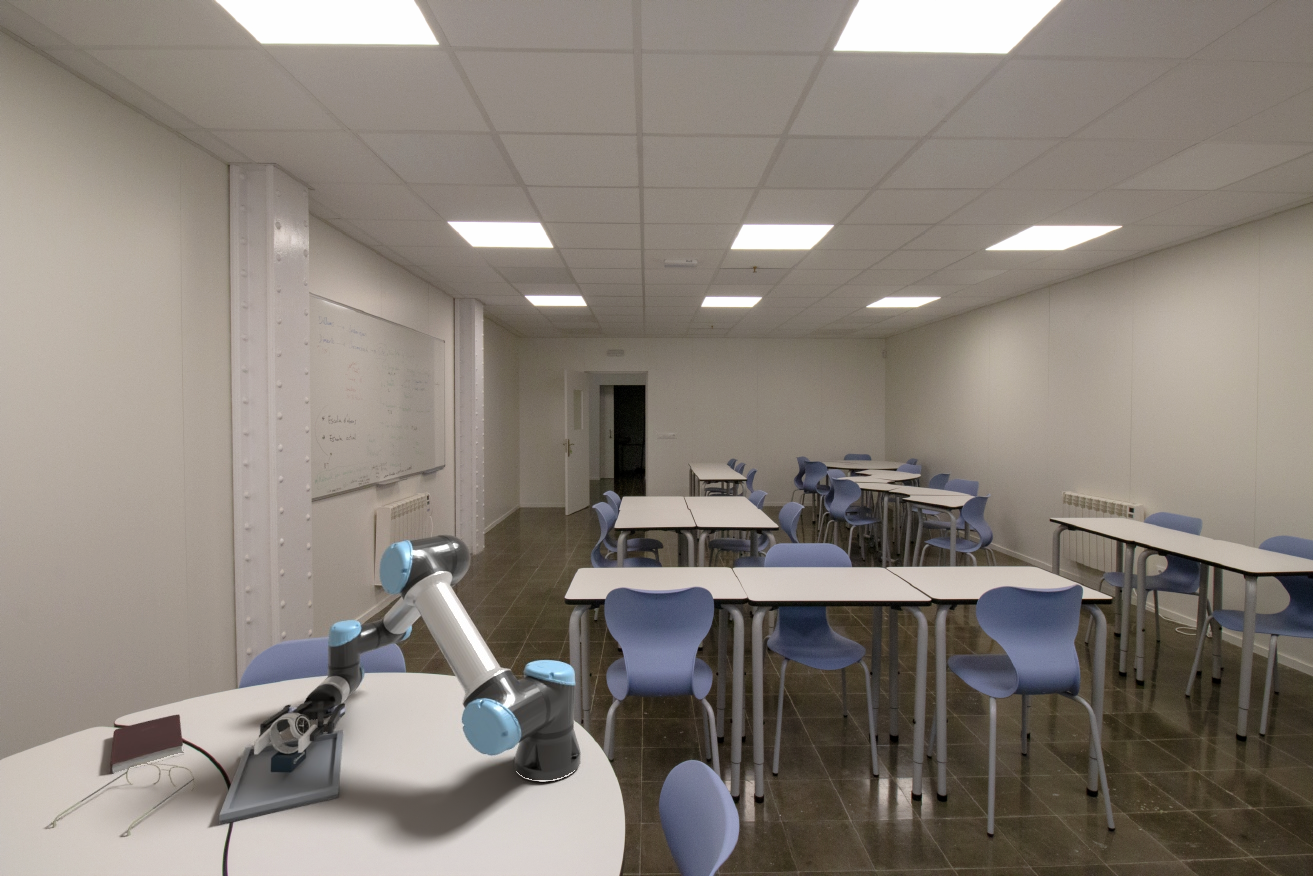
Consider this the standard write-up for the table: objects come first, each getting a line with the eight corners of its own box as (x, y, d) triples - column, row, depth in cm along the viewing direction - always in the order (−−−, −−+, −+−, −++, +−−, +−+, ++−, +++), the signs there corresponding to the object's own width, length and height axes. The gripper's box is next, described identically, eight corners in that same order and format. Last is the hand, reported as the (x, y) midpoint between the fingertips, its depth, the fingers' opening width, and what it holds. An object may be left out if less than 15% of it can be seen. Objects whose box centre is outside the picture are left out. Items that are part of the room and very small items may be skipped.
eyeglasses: (200, 789, 121) (200, 766, 121) (128, 838, 106) (128, 812, 106) (132, 783, 123) (132, 760, 123) (52, 830, 108) (52, 804, 108)
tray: (338, 797, 119) (338, 788, 119) (219, 825, 110) (219, 814, 110) (342, 737, 142) (343, 729, 142) (245, 756, 133) (245, 747, 133)
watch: (300, 772, 123) (301, 721, 123) (262, 772, 123) (263, 721, 123) (315, 757, 129) (316, 709, 129) (278, 757, 128) (280, 708, 128)
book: (109, 777, 124) (109, 762, 124) (113, 740, 139) (113, 727, 139) (183, 757, 133) (184, 743, 133) (180, 724, 147) (180, 712, 147)
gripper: (370, 711, 145) (329, 762, 122) (282, 714, 142) (224, 767, 120) (370, 682, 145) (330, 727, 122) (283, 684, 142) (225, 731, 120)
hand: (278, 747), depth 121 cm, fingers closed on watch, 8 cm apart
